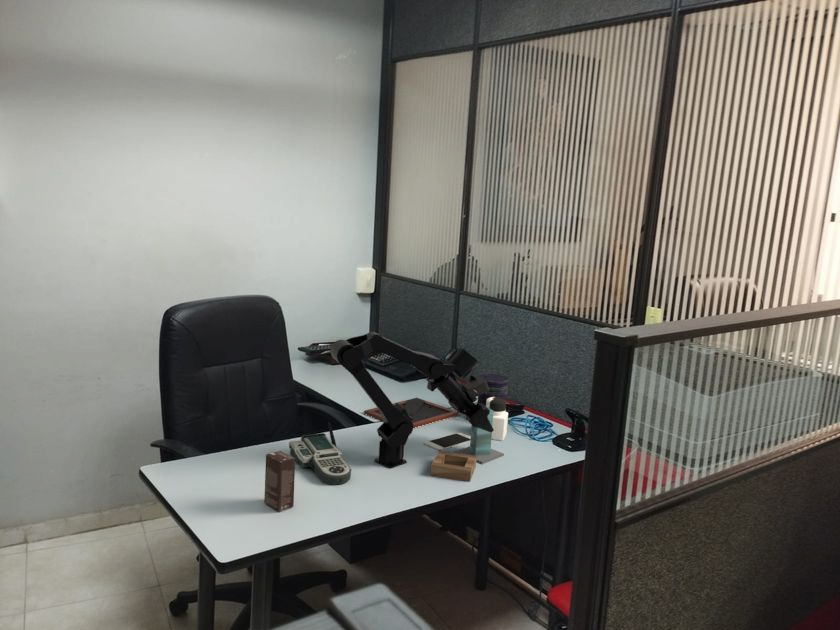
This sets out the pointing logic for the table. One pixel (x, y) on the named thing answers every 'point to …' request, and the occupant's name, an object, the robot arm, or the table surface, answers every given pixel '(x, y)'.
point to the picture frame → (419, 411)
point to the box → (279, 481)
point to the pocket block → (453, 466)
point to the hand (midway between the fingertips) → (486, 425)
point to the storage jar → (494, 387)
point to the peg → (481, 438)
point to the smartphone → (448, 441)
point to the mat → (482, 458)
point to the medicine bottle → (498, 417)
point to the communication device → (321, 457)
